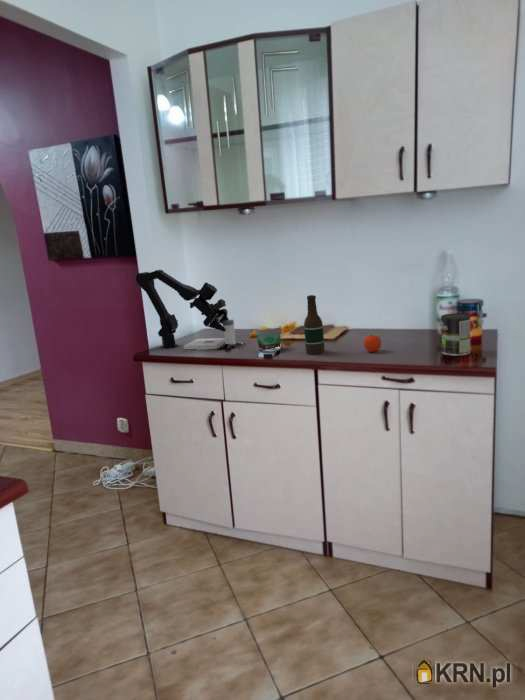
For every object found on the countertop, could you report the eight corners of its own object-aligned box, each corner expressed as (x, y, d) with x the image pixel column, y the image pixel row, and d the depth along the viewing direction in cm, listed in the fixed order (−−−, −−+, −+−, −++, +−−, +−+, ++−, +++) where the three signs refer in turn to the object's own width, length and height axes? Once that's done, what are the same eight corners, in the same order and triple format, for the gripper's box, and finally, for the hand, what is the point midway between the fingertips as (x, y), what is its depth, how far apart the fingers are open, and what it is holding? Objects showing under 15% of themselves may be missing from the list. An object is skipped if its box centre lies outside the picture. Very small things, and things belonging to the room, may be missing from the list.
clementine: (376, 348, 216) (375, 331, 214) (387, 351, 210) (386, 333, 208) (360, 351, 213) (359, 334, 211) (371, 354, 207) (370, 337, 205)
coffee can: (445, 356, 193) (444, 319, 190) (439, 350, 203) (438, 314, 200) (474, 354, 192) (473, 316, 189) (466, 348, 202) (466, 312, 199)
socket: (184, 349, 250) (183, 345, 250) (197, 342, 264) (196, 338, 264) (217, 348, 245) (216, 344, 245) (228, 341, 259) (228, 337, 259)
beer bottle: (305, 351, 223) (301, 295, 218) (323, 349, 223) (319, 293, 217) (306, 355, 215) (301, 297, 210) (325, 353, 215) (321, 295, 210)
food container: (260, 354, 226) (257, 331, 224) (256, 351, 232) (254, 329, 230) (287, 350, 229) (285, 327, 227) (282, 347, 235) (280, 325, 233)
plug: (225, 346, 250) (222, 321, 247) (228, 344, 253) (225, 319, 251) (233, 346, 248) (230, 321, 246) (236, 344, 252) (233, 319, 249)
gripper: (206, 297, 239) (231, 320, 237) (221, 292, 256) (245, 313, 255) (192, 315, 243) (217, 337, 242) (208, 308, 260) (232, 329, 259)
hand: (228, 328), depth 249 cm, fingers open, 9 cm apart
